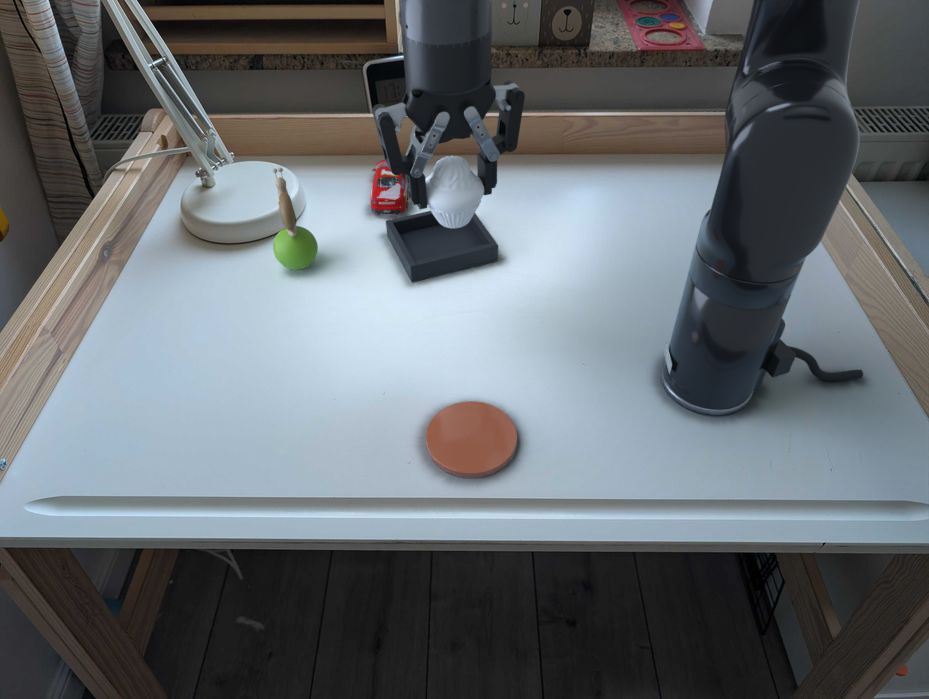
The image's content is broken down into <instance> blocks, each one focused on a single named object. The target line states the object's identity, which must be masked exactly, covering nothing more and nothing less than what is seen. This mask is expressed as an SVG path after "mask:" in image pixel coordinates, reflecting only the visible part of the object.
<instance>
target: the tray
mask: <svg viewBox="0 0 929 699" xmlns="http://www.w3.org/2000/svg"><path fill="white" fill-rule="evenodd" d="M385 229H386V237H387V239H388V240H389V242H390V244H391V246H392V249H393V250H394V252H395V254H396V255H397V257H398V259H399V262H400V263H401V266H402V267H403V269H404V271H405V272H406V275H407V276H408V278H409V280H410V282H411V283H417V282H420V281H424V280H428V279H432V278H436V277H439V276H444V275H448V274H452V273H455V272H459V271H464V270H468V269H472V268H476V267H479V266H480V267H481V266H483V265H488V264H492V263H497V262H498V261H499V244H498V243H497V241H496V240H495V239H494V238H493V236H492V234H491V233H490V231H489V230H488V229H487V227H486V226H485V224H484V223H483V222H482V221H481V219H480V218H479V215H477V213H476V212H475V213H474V215H473V217H472V218H471V220H470V222H469V223H468V224H466V225H465V226H463V227H461V228H455V229H454V228H448V227H447V228H446V227H444V226H443V225H441V224H440V223H439V222H438V221H437V219H436V218H435V216H434V215H433V214H432V212H431V211H430V210H428V211H423V212H418V213H414V214H410V215H409V214H408V215H405V216H399V217H396V218H392V219H387V220H385Z"/></svg>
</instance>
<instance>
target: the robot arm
mask: <svg viewBox="0 0 929 699" xmlns="http://www.w3.org/2000/svg"><path fill="white" fill-rule="evenodd" d="M860 1H861V0H753V2H752V7H751V11H750V15H749V19H748V24H747V28H746V32H745V36H744V41H743V46H742V49H741V53H740V57H739V61H738V64H737V68H736V71H735V74H734V78H733V82H732V85H731V89H730V92H729V97H728V100H727V103H726V108H725V112H724V143H725V154H724V158H723V161H722V167H721V170H720V175H719V178H718V182H717V184H716V188H715V192H714V196H713V199H712V203H711V205H710V206H711V207H710V209H708V210H707V211H706V213H705V214H704V216H703V218H702V219H701V222H700V227H699V230H698V234H697V237H696V242H695V245H694V249H693V253H692V256H691V260H690V264H689V269H688V273H687V277H686V280H685V284H684V288H683V291H682V295H681V298H680V303H679V307H678V311H677V314H676V318H675V321H674V325H673V330H672V333H671V337H670V341H669V345H668V341H666V342H665V344H664V345H665V346H664V349H663V354H664V359H665V360H664V362H663V363H662V367H661V373H660V378H661V383H662V386H663V388H664V390H665V391H666V393H667V394H668V396H670V397H671V398H672V399H673V400H674V401H675V402H676V403H678V404H679V405H681V406H683V407H684V408H686V409H688V410H690V411H693V412H696V413H699V414H703V415H710V416H723V415H729V414H733V413H737V412H738V411H740V410H742V409H743V408H745V407H746V406H747V404H749V402H750V401H751V398H752V397H753V394H754V393H755V392H758V391H760V389H761V387H762V384H763V383H764V379H765V377H766V374H768V375H769V376H770V377H771V378H772V379H773V378H776V377H779V376H782V375H786V374H789V373H790V371H791V369H792V366H793V364H794V362H795V359H799V360H801V361H803V362H804V363H805V364H806V365H807V367H808V369H809V371H810V373H811V374H812V375H813V376H814V377H815V378H817V379H819V380H821V381H825V382H842V381H848V380H857V379H862V378H863V377H864V372H863V370H862V369H851V370H844V371H843V370H842V371H837V372H836V371H835V372H829V371H825V370H822V369H821V367H820V365H819V363H818V361H817V360H816V358H815V357H814V356H813V355H812V354H810V353H809V352H807V351H805V350H803V349H801V348H797V347H795V346H790V345H787V344H786V343H785V341H783V340H782V339H781V338H782V335H783V333H784V330H785V328H786V321H785V320H784V318H783V316H784V315H785V311H786V309H787V307H788V304H789V301H790V299H791V296H792V293H793V291H794V289H795V286H796V284H797V281H798V279H799V276H800V274H801V271H802V267H803V266H804V264H805V262H806V259H807V257H808V256H810V255H811V254H812V253H813V252H814V251H815V249H816V248H817V247H818V246H819V245H820V243H821V241H822V240H823V238H824V235H825V234H826V232H827V229H828V227H829V225H830V223H831V221H832V220H833V219H832V218H833V217H834V215H835V212H836V210H837V208H838V205H839V203H840V201H841V199H842V197H843V195H844V192H845V190H846V188H847V186H848V183H849V181H850V178H851V176H852V173H853V171H854V167H855V165H856V162H857V159H858V154H859V149H860V142H861V141H860V140H861V139H860V138H861V137H860V129H859V128H860V127H859V125H858V124H859V123H858V121H857V118H856V116H855V112H854V109H853V106H852V103H851V100H850V96H849V94H848V86H847V84H848V82H847V81H848V70H849V61H850V54H851V46H852V40H853V36H854V31H855V30H854V29H855V25H856V20H857V14H858V10H859V5H860ZM492 3H493V2H492V0H398V7H399V9H398V23H399V24H400V31H401V39H402V40H401V44H402V55H403V66H404V79H405V91H404V95H403V97H402V99H401V102H399V103H395V104H393V105H390V106H386V107H385V105H384V104H383V103H382V104H381V103H377V104H375V105H374V106H373V107H372V109H371V110H372V117H373V119H374V124H375V127H376V131H377V136H378V139H379V143H380V146H381V150H382V155H383V158H384V159H383V160H385V161H386V163H387V165H388V166H389V168H390V170H391V172H392V173H393V174H394V175H401V174H406V181H407V192H408V195H409V199H410V200H411V202H412V204H413V206H417V207H418V209H419V210H420V211H421V210H425V209H428V206H427V195H426V180H425V179H426V175H425V173H424V171H425V169H426V167H427V165H428V162H429V160H430V158H432V157H433V156H434V154H435V152H436V149H437V147H438V145H439V144H440V145H441V144H445V143H448V142H450V141H452V140H457V139H458V140H465V139H470V138H471V136H472V137H473V139H474V141H475V143H476V144H477V146H478V148H479V149H480V150H479V152H476V161H477V162H476V164H477V165H476V166H477V167H476V168H477V170H476V171H477V174H476V175H477V176H478V177H479V178H480V179H481V181H482V183H483V186H484V194H483V197H484V196H488V195H492V194H493V189H495V188H496V186H497V184H498V160H499V159H500V156H502V155H503V154H505V153H506V152H508V153H512V152H513V153H514V151H516V150H517V148H518V143H519V137H520V130H521V122H522V117H523V110H524V105H525V104H524V103H525V97H526V94H525V92H524V91H523V90H521V88H520V87H519V86H518V85H517V83H515V82H514V81H513V80H506V81H504V83H503V84H501V85H493V83H492V56H493V55H492V53H493V52H492V50H493V49H492V45H493V44H492V40H493V38H492V35H493V34H492V29H493V28H492V26H493V25H492V21H493V20H492V16H493V15H492V14H493V13H492V12H493V11H492V9H493V8H492ZM494 103H495V104H496V106H497V107H498V109H499V112H498V118H497V125H496V132H495V134H496V135H494V136H492V135H491V134H490V132H489V130H488V129H487V126H486V125H485V123H484V119H485V117H486V116H487V114H488V112H489V111H490V109H491V108H492V106H493V105H494ZM406 117H407V118H408V119H409V120H410V121H411V122H412V123H413V127H412V130H411V132H410V136H409V144H408V147H407V149H406V152H405V153H404V154H402V153H401V149H400V148H401V147H400V144H399V140H398V137H397V133H399V132H400V131H401V129H402V126H403V125H402V122H403V120H404V119H405V118H406Z"/></svg>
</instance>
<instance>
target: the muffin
mask: <svg viewBox="0 0 929 699" xmlns="http://www.w3.org/2000/svg"><path fill="white" fill-rule="evenodd" d="M425 180H426V195H427V209H428V210H429V211H431V212H432V214H433V215H434V216H435V218H436V219H437V221H438V222H439V223H440V224H441V225H443V226H444V227H446V228H447V227H448V228H454V229H455V228H461V227H463V226H465V225H466V224H468V223H469V222H470V220H471V218H472V217H473V215H474V213H476V212H477V210H478V208H479V206H480V204H481V202H482V199H483V197H484V195H483V194H484V186H483V183H482V181H481V179H480V178H479V177H478V176H477V174H476V173H475V172H473V170H472V169H471V164H470V163H469V162H468V160H466V159H465V158H464V157H461V156H458V155H450V156H449V155H446V156H444V157H441V158H440V159H438V160H437V161H436V163H435V164H434V166H433V172H431V173H430V174H429V175H428V176H427V177H425Z"/></svg>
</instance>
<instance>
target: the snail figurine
mask: <svg viewBox="0 0 929 699" xmlns="http://www.w3.org/2000/svg"><path fill="white" fill-rule="evenodd" d="M283 171H284V169H283V167H278V168H273V169H272V173H274V175H275V178H276V180H275V181H274V183H275V187H276V189H277V196H278V210H279V214H280V218H281V222H282V224H283V226H284V228H283V229H281V230H280V231H279V232H278V233H277V234H276V236H275V237H274V240H273V245H272V250H273V254H274V256H275V259H276V260H277V262H278V263H279V264H280V265H282V266H283V267H285V268H287V269H289V270H294V271H295V270H296V271H297V270H303V269H305V268H307V267H309V266H310V265H312V264H313V262H314V261H315V260H316V257H317V255H318V251H319V246H318V245H319V244H318V242H317V239H316V237H315V235H314V234H313V233H312V232H311V231H310V230H309V229H308V228H306V227H304V226H300V225H297V222H298V219H297V216H296V213H295V212H296V211H295V209H294V206H293V202H292V198H291V196H290V194H289V192H288V189H287V182H286V180H285V179H284V178H283V174H282V172H283ZM278 172H279V173H280V175H281V176H279V177H278V176H277V173H278Z"/></svg>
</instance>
